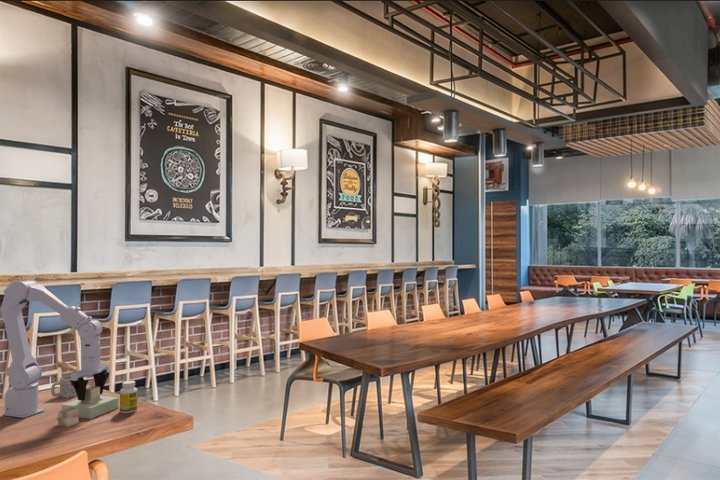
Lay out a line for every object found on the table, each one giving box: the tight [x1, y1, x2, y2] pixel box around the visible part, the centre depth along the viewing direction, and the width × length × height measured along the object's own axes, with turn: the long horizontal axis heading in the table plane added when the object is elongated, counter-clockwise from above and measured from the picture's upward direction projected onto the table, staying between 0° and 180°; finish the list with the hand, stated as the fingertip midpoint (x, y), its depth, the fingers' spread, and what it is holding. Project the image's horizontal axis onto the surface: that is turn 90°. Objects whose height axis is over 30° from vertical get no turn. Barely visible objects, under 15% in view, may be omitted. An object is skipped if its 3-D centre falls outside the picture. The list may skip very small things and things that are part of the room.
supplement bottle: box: [119, 380, 138, 414], centre depth 179 cm, size 5×5×10 cm
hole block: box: [61, 395, 119, 420], centre depth 179 cm, size 12×12×4 cm
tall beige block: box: [81, 385, 101, 404], centre depth 179 cm, size 4×4×8 cm
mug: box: [50, 375, 77, 399], centre depth 197 cm, size 10×7×7 cm, turn 145°
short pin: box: [57, 407, 80, 428], centre depth 167 cm, size 4×4×4 cm
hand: (90, 397), depth 179 cm, fingers open, 7 cm apart
